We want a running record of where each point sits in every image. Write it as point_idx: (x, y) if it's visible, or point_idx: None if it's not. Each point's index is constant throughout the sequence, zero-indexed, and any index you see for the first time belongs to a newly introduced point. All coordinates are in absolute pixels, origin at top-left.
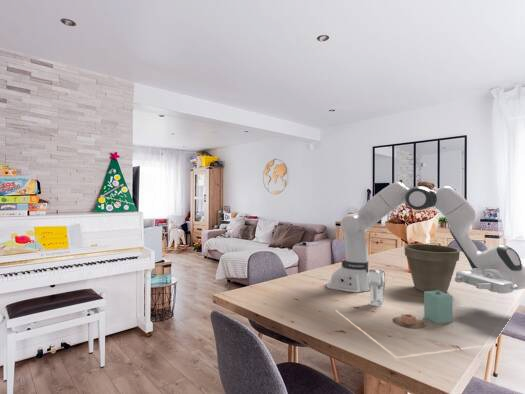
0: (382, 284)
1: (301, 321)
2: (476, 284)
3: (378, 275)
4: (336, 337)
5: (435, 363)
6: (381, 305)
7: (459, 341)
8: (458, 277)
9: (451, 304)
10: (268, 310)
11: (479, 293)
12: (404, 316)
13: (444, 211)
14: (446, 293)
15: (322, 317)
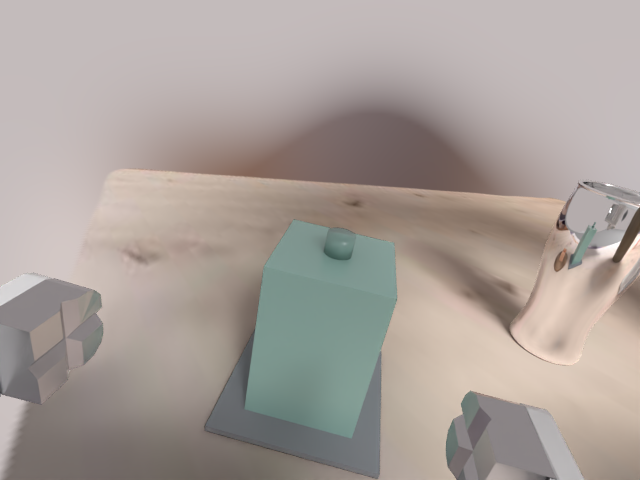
0: (555, 243)
1: (416, 199)
2: (89, 290)
3: (571, 194)
4: (333, 191)
5: (157, 198)
6: (516, 330)
7: (145, 285)
8: (547, 456)
9: (259, 316)
10: (479, 201)
11: None
12: None
13: None
14: (317, 279)
15: (431, 219)
